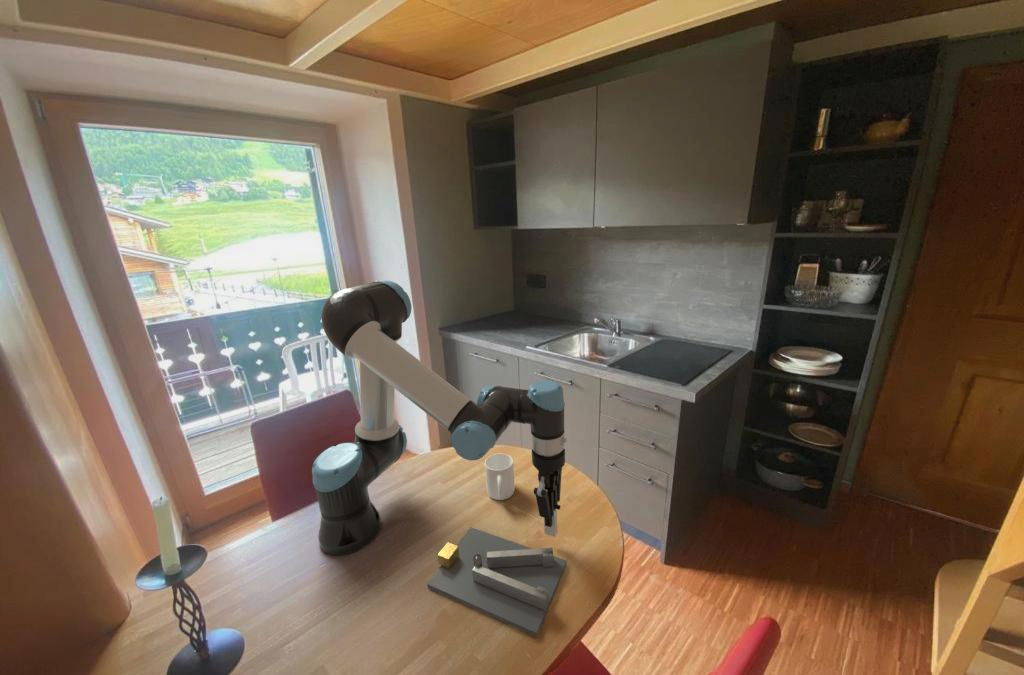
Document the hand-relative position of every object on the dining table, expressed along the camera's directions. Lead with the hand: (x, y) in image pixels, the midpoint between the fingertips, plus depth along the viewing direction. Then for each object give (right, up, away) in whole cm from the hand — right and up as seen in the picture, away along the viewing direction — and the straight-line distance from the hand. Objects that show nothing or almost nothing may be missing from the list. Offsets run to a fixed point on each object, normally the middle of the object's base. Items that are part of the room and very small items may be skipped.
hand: (550, 532), depth 95 cm
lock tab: (-24, -4, -4) cm, 25 cm away
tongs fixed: (-10, -6, -11) cm, 16 cm away
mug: (-13, +1, +19) cm, 23 cm away
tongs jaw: (-8, -4, -6) cm, 10 cm away
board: (-12, -6, -7) cm, 15 cm away
